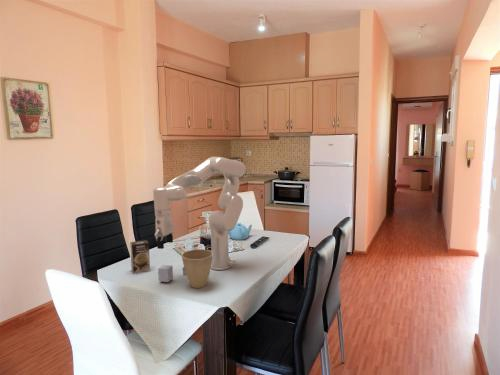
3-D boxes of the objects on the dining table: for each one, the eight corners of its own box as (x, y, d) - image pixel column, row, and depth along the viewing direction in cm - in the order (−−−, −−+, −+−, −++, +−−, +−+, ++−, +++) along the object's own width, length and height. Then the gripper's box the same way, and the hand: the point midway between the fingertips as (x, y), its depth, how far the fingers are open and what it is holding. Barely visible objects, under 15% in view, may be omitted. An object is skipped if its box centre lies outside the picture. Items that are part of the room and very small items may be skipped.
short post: (189, 273, 194) (189, 266, 193) (187, 275, 191) (187, 268, 191) (185, 273, 194) (184, 266, 194) (183, 274, 192) (182, 267, 191)
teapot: (224, 239, 257) (224, 224, 255) (233, 234, 270) (233, 220, 269) (244, 241, 251) (243, 226, 249) (252, 236, 264) (252, 221, 263)
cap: (173, 277, 186) (172, 265, 185) (168, 281, 181) (167, 269, 180) (163, 277, 187) (163, 264, 186) (158, 281, 182) (158, 268, 181)
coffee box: (133, 274, 195) (131, 245, 193) (131, 270, 200) (129, 241, 198) (150, 270, 199) (149, 242, 197) (148, 267, 205) (146, 239, 202)
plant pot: (177, 288, 175) (175, 256, 172) (193, 277, 188) (192, 248, 186) (203, 293, 169) (202, 260, 166) (219, 281, 182) (218, 251, 180)
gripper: (161, 216, 170) (164, 251, 172) (177, 208, 186) (179, 240, 189) (146, 216, 172) (149, 250, 174) (164, 208, 188) (166, 239, 191)
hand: (165, 245), depth 182 cm, fingers open, 9 cm apart
